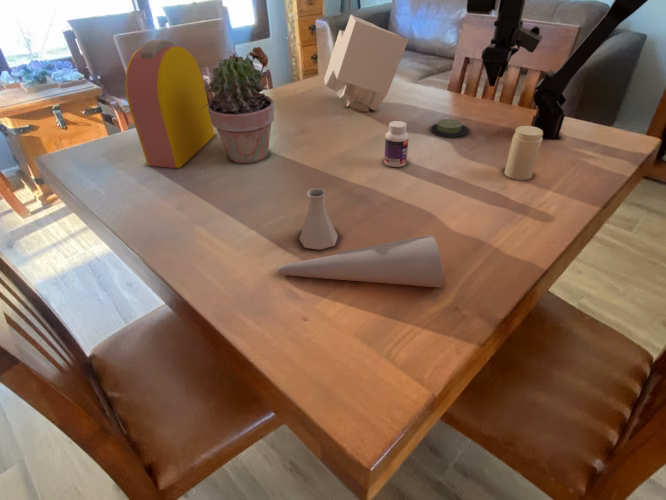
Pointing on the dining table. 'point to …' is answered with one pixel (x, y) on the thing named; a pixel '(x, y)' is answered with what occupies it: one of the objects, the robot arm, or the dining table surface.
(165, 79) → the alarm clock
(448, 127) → the lid
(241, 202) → the dining table surface
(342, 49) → the beige tilted block
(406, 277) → the grey long cone
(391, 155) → the pill bottle
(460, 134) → the coaster
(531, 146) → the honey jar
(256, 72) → the potted plant
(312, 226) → the flask
